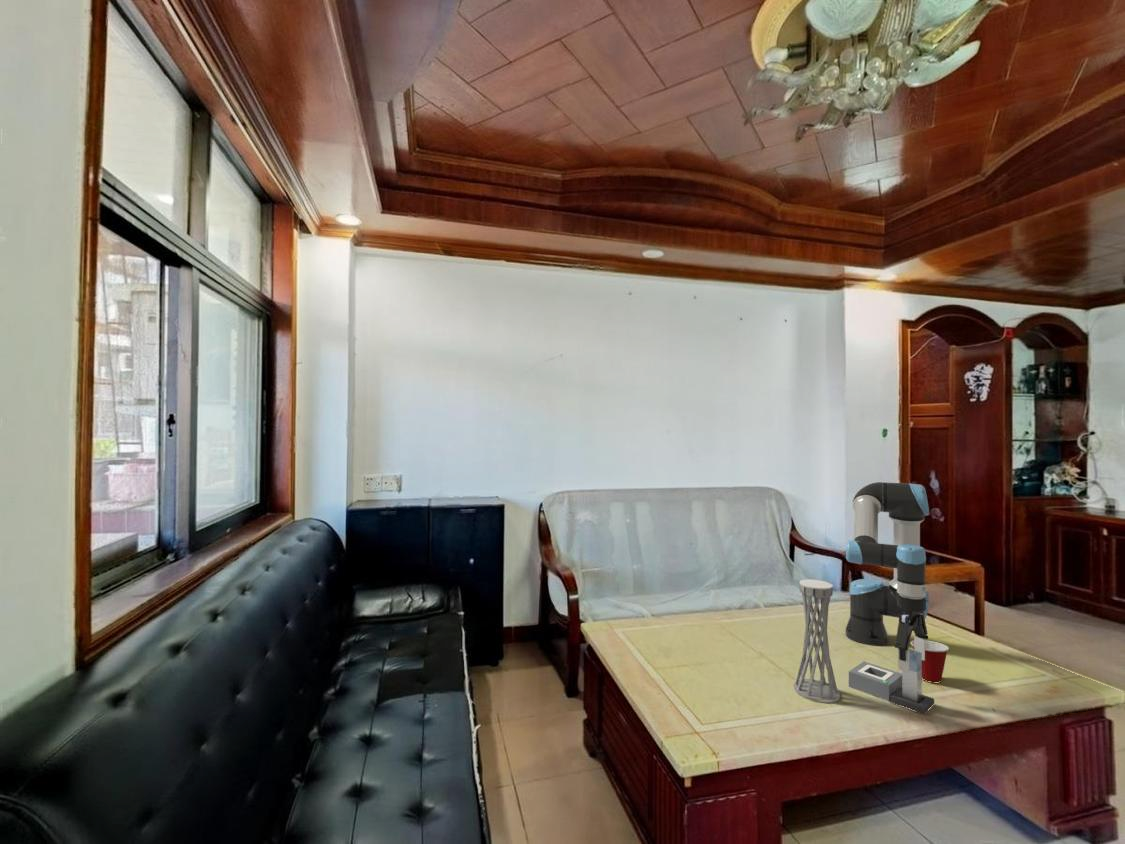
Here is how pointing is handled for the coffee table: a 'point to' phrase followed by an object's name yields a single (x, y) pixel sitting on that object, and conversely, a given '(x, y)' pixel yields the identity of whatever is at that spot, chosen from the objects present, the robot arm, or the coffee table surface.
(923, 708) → the dark grey slot tray
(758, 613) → the coffee table surface
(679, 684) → the coffee table surface
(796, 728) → the coffee table surface
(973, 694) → the coffee table surface
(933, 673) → the plastic cup
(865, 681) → the port
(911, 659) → the plug
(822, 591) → the grey tall lattice tower
